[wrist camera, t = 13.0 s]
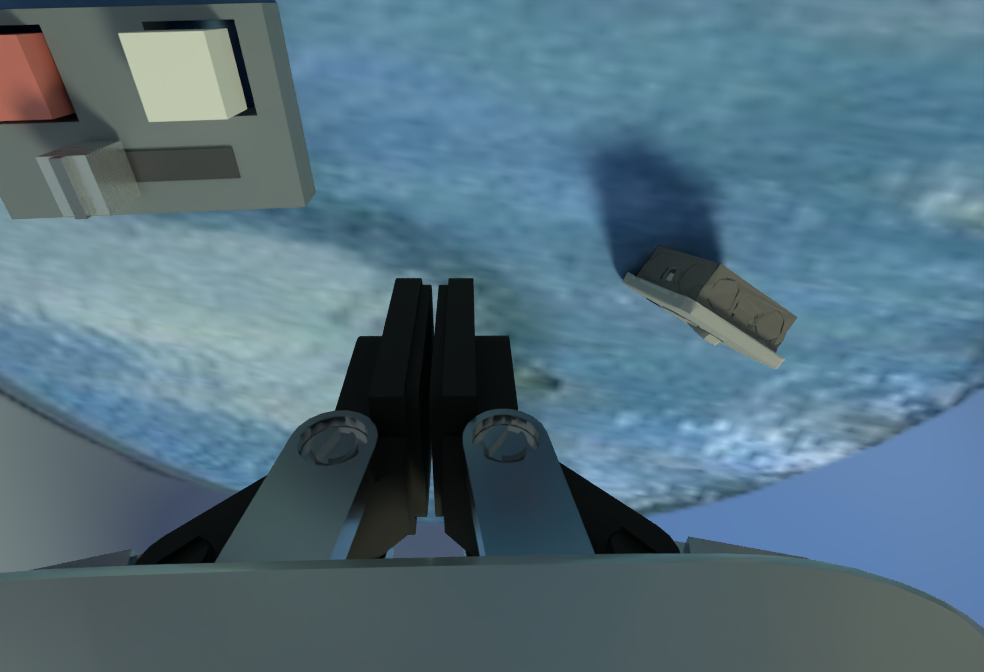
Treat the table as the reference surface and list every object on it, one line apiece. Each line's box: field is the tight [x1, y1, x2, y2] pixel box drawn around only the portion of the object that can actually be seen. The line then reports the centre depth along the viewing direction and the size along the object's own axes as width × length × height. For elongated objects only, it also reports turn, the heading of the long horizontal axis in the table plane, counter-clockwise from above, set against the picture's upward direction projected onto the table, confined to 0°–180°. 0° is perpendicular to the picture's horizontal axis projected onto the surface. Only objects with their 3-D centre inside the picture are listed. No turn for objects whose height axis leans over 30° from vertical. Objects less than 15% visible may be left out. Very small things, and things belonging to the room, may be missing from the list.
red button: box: [0, 32, 76, 121], centre depth 29 cm, size 4×4×3 cm
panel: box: [0, 3, 315, 219], centre depth 31 cm, size 11×18×3 cm, turn 91°
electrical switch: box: [623, 246, 797, 369], centre depth 38 cm, size 9×5×9 cm, turn 57°
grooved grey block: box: [35, 141, 141, 219], centre depth 30 cm, size 3×2×4 cm
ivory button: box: [118, 28, 247, 122], centre depth 28 cm, size 4×4×3 cm
